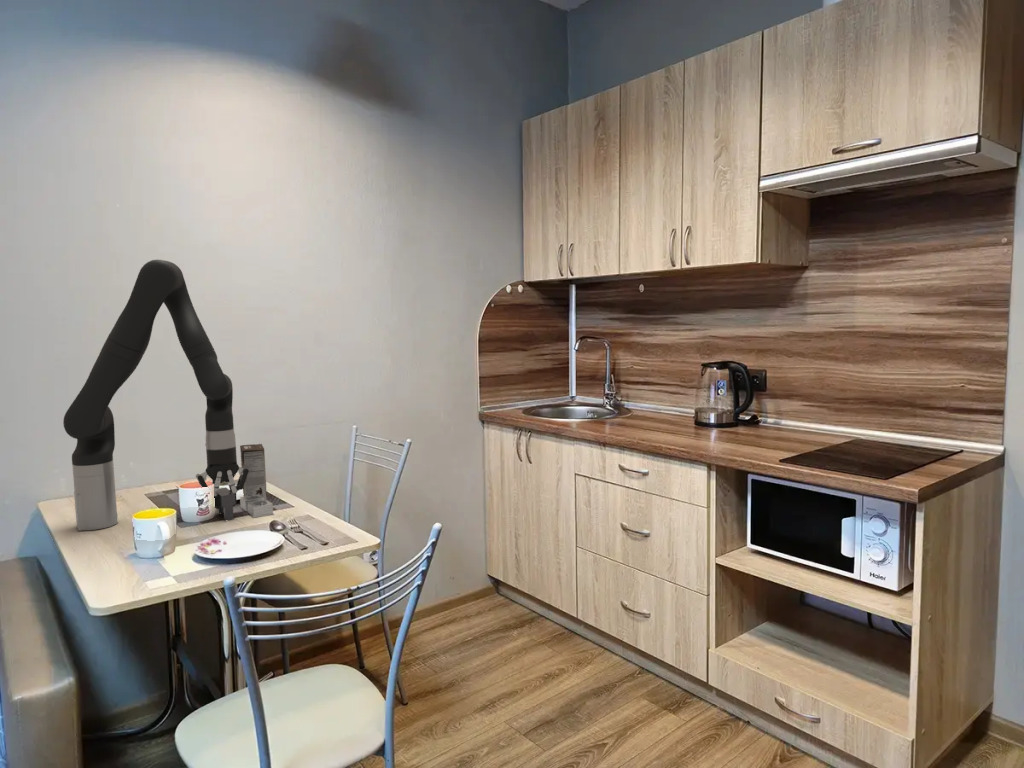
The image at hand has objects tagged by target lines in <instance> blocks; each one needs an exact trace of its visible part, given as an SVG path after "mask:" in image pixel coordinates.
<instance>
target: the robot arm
mask: <svg viewBox="0 0 1024 768" xmlns="http://www.w3.org/2000/svg"><path fill="white" fill-rule="evenodd" d="M192 302H193V301H192V299H191V296H190V294H189V290H188V286H187V284H186V280H185V277H184V273H183V271H182V270H181V268H180V267H179V266H178V265H177V264H176V263H174V262H171V261H169V260H164V259H163V260H162V259H152V260H150V261H147V262H146V263H145V264H143V265H142V267H141V268H140V269H139V272H138V274H137V277H136V280H135V282H134V285H133V288H132V291H131V293H130V296H129V299H128V300H127V303H126V305H125V307H124V308H123V309H122V311H121V313H120V315H119V316H118V318H117V320H116V321H115V323H114V326H113V328H111V331H110V333H109V334H108V336H107V338H106V340H105V341H104V343H103V345H102V347H101V349H100V351H99V354H98V356H97V358H96V360H95V362H94V364H93V365H92V368H91V371H90V372H89V375H88V377H87V379H86V381H85V383H84V385H82V388H81V390H80V391H79V392H78V394H77V396H76V397H75V399H73V401H72V403H70V405H69V407H68V409H67V410H66V412H65V414H64V417H63V428H64V430H65V432H66V434H67V435H68V436H69V437H71V438H73V439H76V440H77V441H76V446H75V449H74V450H73V453H72V454H71V464H72V476H73V479H72V480H73V489H74V491H73V496H74V498H73V499H74V510H75V520H76V522H75V523H76V527H77V528H76V529H77V531H78V532H80V531H81V532H82V531H94V530H102V529H106V528H109V527H113V526H115V525H117V524H118V522H119V520H118V507H117V506H118V505H117V494H116V492H117V491H116V481H115V470H114V469H115V468H114V455H113V454H114V452H115V451H114V450H115V447H116V438H115V437H116V436H115V432H116V431H115V418H114V415H113V411H112V410H111V408H110V407H109V405H110V403H111V401H112V399H113V397H114V396H115V394H116V393H117V392H118V390H120V388H121V387H122V386H123V385H124V384H125V383H126V381H128V379H129V378H130V377H131V375H132V374H133V373H134V372H135V370H136V369H137V367H138V365H139V364H140V362H141V360H142V358H143V357H144V355H145V353H146V351H147V349H148V346H149V344H150V340H151V336H152V331H153V326H154V323H155V319H156V316H157V314H158V313H159V311H160V309H161V307H162V306H163V304H164V305H165V306H166V309H167V310H168V312H169V314H170V317H171V320H172V321H173V325H174V329H175V332H176V335H177V336H176V337H177V339H178V341H179V344H180V346H181V348H182V351H183V352H184V354H185V356H186V359H187V361H188V362H189V364H190V365H191V367H192V370H193V373H194V376H195V378H196V380H197V384H198V386H199V388H200V391H201V392H202V394H203V395H204V396H205V398H206V409H205V410H206V411H205V415H204V416H205V417H204V419H205V423H204V424H205V445H204V446H205V449H206V468H205V471H204V472H202V473H197V474H195V478H196V480H197V481H198V484H199V485H201V486H202V487H208V488H209V486H208V484H207V483H206V481H207V476H208V477H209V478H210V479H211V485H212V484H214V498H215V507H214V509H215V510H217V509H219V500H218V489H219V488H220V486H221V484H222V483H227V485H228V487H229V488H228V489H229V490H230V491H232V492H233V493H234V494H235V504H237V503H238V500H237V492H238V491H240V490H242V491H243V487H244V484H245V481H246V478H247V475H248V472H249V470H248V469H247V468H242V467H241V466H239V464H238V460H237V457H238V456H237V445H236V433H235V428H234V426H235V425H234V415H233V397H234V396H233V395H234V394H233V393H234V391H233V382H232V380H231V378H230V377H229V376H228V375H227V374H225V373H224V372H223V369H222V367H221V365H220V363H219V362H218V356H217V353H216V351H215V348H214V346H213V344H212V342H211V341H210V338H209V336H208V335H207V332H206V330H205V328H204V327H203V325H202V322H201V320H200V318H199V317H198V314H197V312H196V310H195V307H194V305H193V303H192ZM237 473H238V474H239V477H238V480H237V483H236V482H235V479H234V478H235V476H236V474H237ZM201 486H200V487H201ZM202 487H201V488H202ZM235 506H236V505H233V507H235Z"/></svg>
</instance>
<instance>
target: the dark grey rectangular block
mask: <svg viewBox="0 0 1024 768" xmlns="http://www.w3.org/2000/svg"><path fill="white" fill-rule="evenodd" d="M218 500H219V509H216V510H217V511H216V512H218V513H219V514H220V513H224V514H223V520H224V519H225V520H224V521H226V520H228V521H233V520H234V519H235V518H234V506H233V505H235V506H236V504H237V503H236V504H235V494H234V493H233V492H232V491H230V488H228V487H226V486H225V487H219V489H218ZM218 513H217V514H218ZM219 514H218V515H219ZM232 519H233V520H232Z"/></svg>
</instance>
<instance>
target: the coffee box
mask: <svg viewBox="0 0 1024 768" xmlns="http://www.w3.org/2000/svg"><path fill="white" fill-rule="evenodd" d="M239 447H240V448H239V449H240V462H241V463H240V465H241V466H240V467H241V468H247V469H248V470H249V472H248V475H247V478H246V481H245V484H244V487H243V489H242V493H243V494H244V495H243V497H245V496H248V494H252V495H257V494H259V495H260V496H262V497H263V498H264V500H268V497H267V496H268V495H267V492H268V491H267V474H266V473H267V472H266V458H265V456H266V454H265V447H264V446H263V444H262V443H259V444H242V445H240V446H239Z"/></svg>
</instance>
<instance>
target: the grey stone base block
mask: <svg viewBox="0 0 1024 768" xmlns="http://www.w3.org/2000/svg"><path fill="white" fill-rule="evenodd" d="M239 497H240V498H239V499H240V500H239V503H240V508H241V509H242V510H243V511H245V512H247V513H248V515H250V516H251V517H252V518H260V517H264V516H271V515H273V514H274V509H273V508H274V507H273V506H274V505H273V503H272V502H271V501H269V500H268V499H267V500H264V498H263V497H262V496H260V495H259V494H257V495H252V494H248V496H245V497H244V496H239Z"/></svg>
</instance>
